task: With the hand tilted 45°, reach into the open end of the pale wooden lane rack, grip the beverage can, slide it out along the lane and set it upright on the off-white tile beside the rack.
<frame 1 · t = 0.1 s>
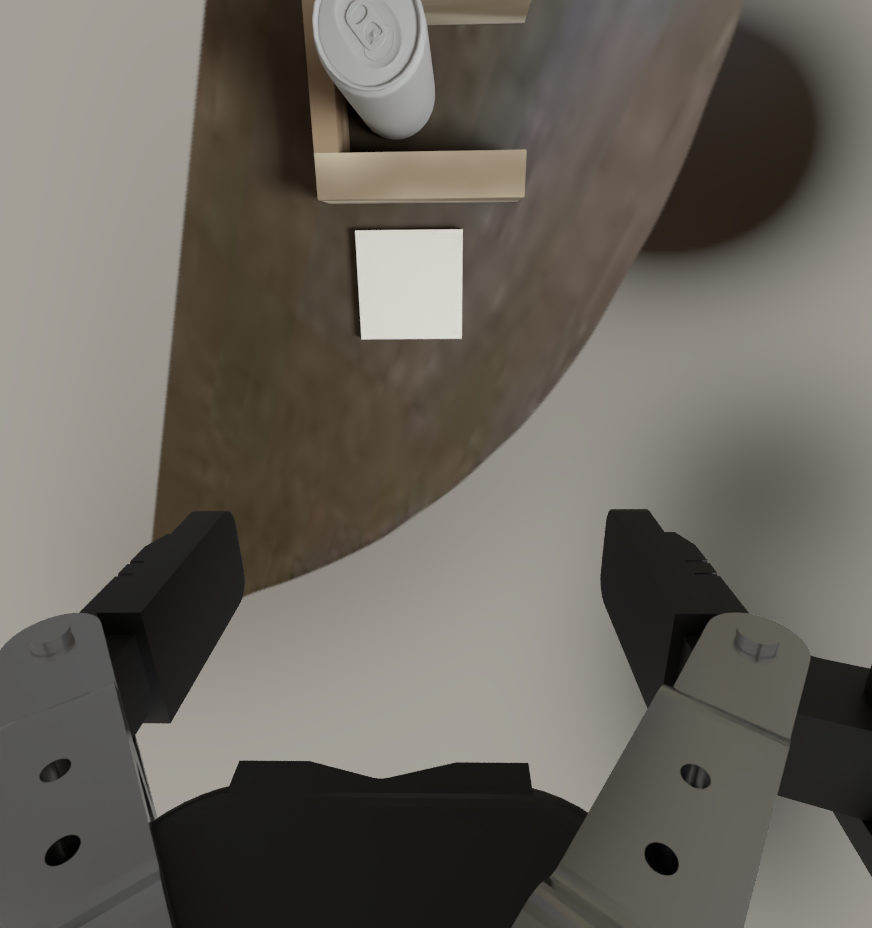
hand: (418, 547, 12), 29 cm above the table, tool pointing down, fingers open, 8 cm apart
lane rack: (422, 95, 34), on the table
beverage can: (396, 97, 34), resting in lane rack
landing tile: (410, 285, 38), on the table
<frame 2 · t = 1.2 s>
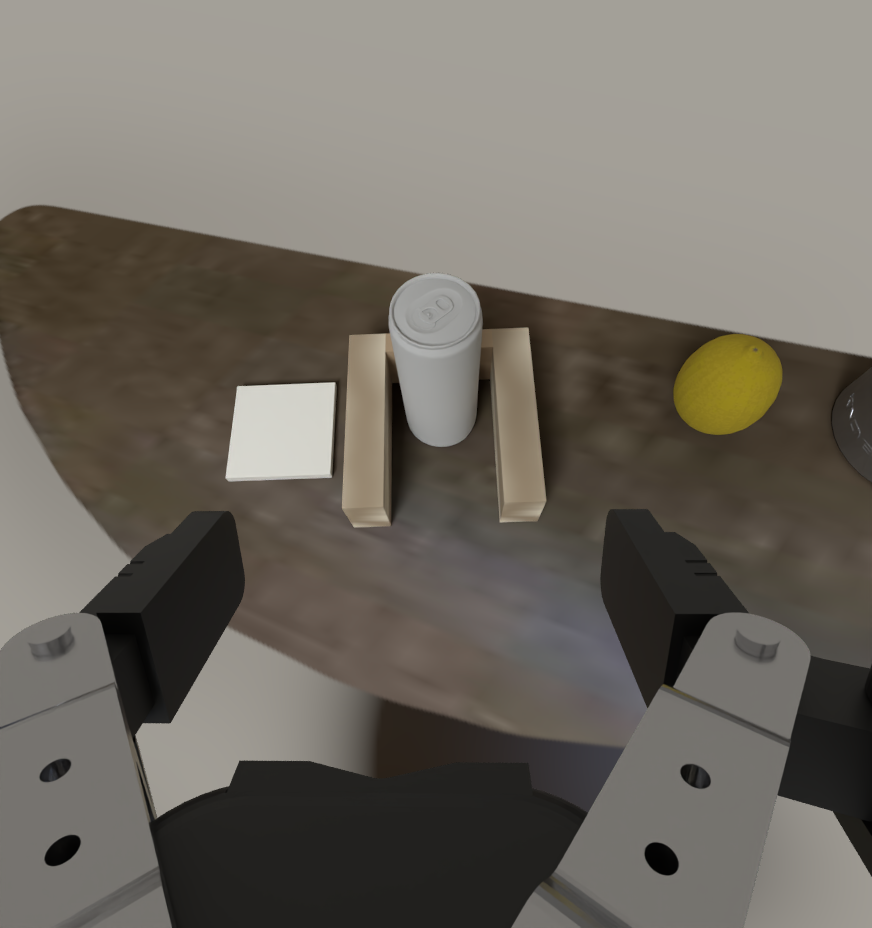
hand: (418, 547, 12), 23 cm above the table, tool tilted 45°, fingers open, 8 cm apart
lane rack: (442, 439, 38), on the table
beverage can: (442, 420, 39), resting in lane rack
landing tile: (284, 432, 39), on the table
lemon: (697, 417, 38), on the table
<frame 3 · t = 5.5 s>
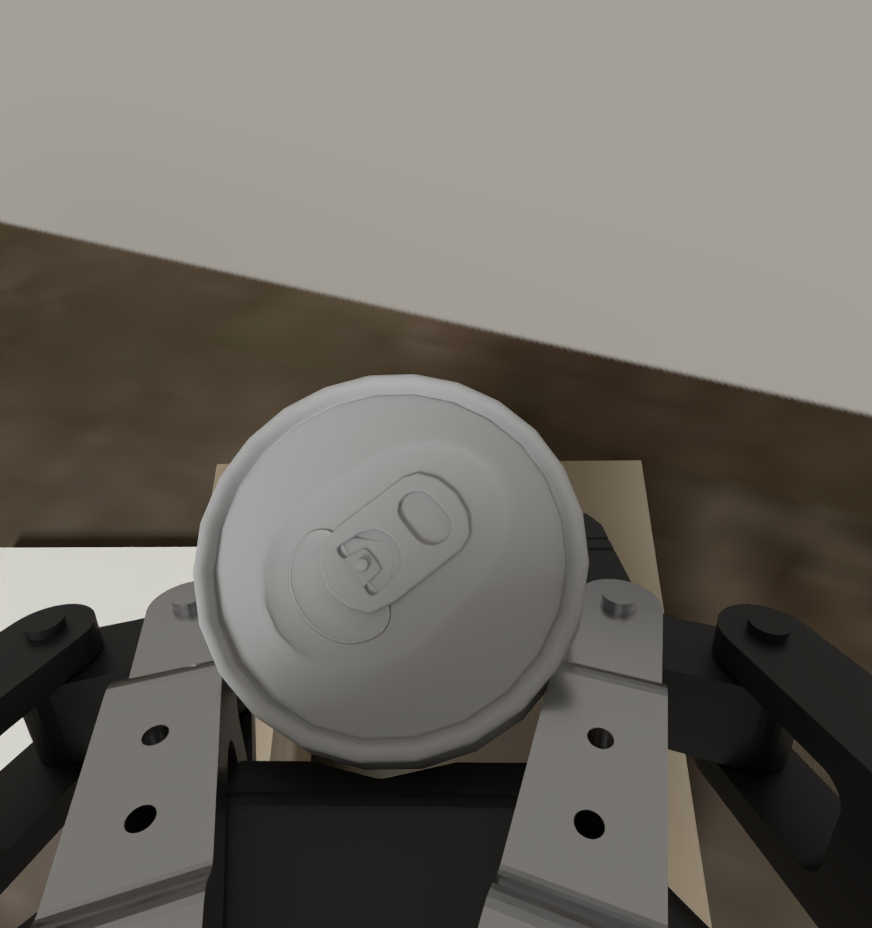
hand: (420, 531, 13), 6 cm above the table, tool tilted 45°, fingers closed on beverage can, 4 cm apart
lane rack: (430, 696, 17), on the table
beverage can: (431, 641, 18), resting in lane rack, touching gripper
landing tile: (83, 660, 18), on the table
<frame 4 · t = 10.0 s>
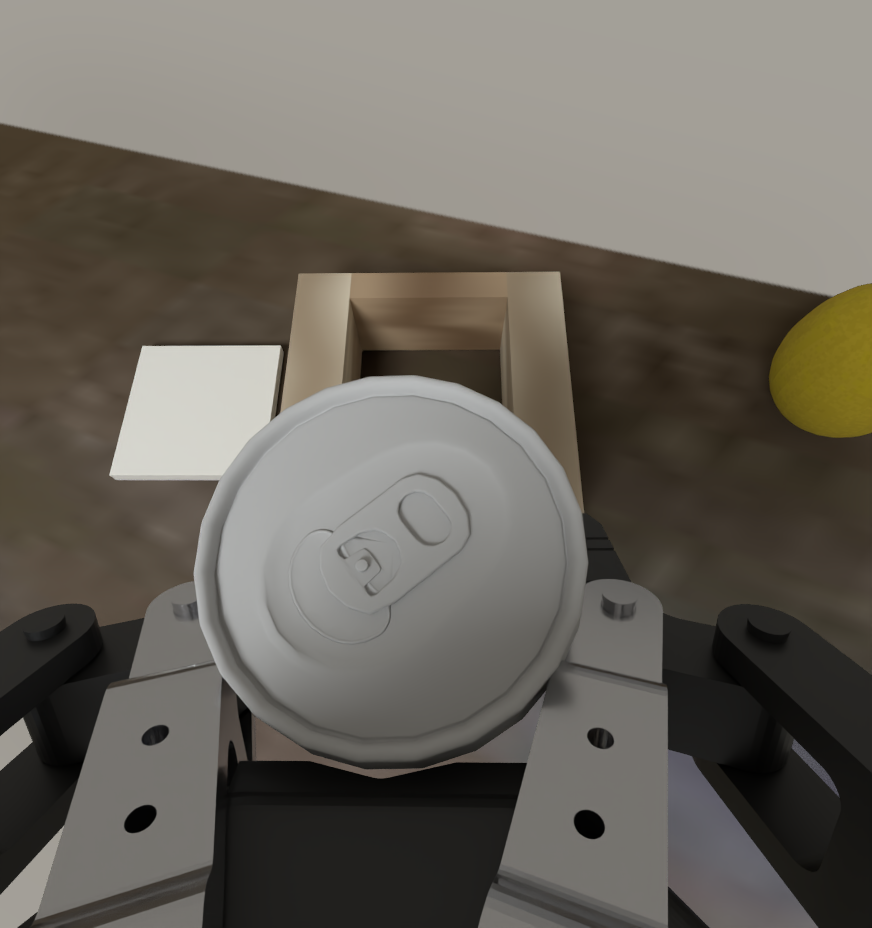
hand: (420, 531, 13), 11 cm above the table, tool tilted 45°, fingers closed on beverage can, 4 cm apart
lane rack: (429, 431, 26), on the table
beverage can: (431, 641, 18), point 5 cm above the table, touching gripper
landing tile: (204, 413, 27), on the table
lemon: (794, 414, 27), on the table
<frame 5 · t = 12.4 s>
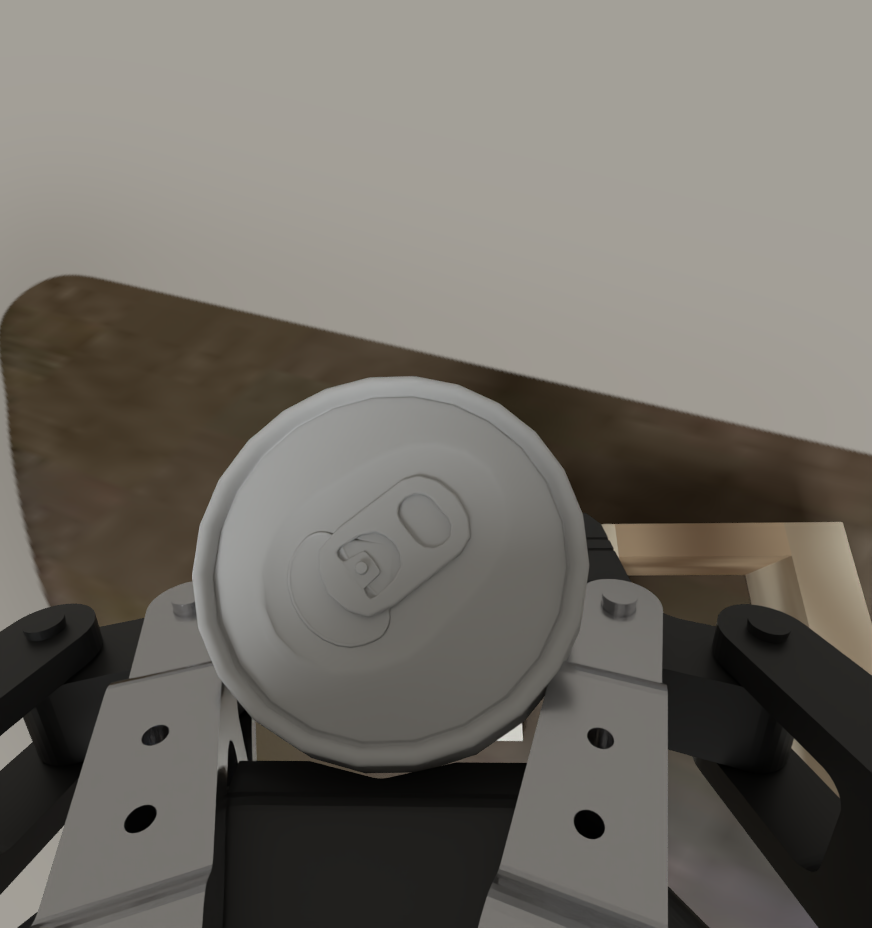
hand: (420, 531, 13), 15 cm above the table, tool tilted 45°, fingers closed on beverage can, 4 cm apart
lane rack: (687, 678, 25), on the table
beverage can: (431, 643, 18), point 9 cm above the table, touching gripper
when the fingers open (8 cm above the table, at t = 14.4 s): beverage can drops 1 cm, resting on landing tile.
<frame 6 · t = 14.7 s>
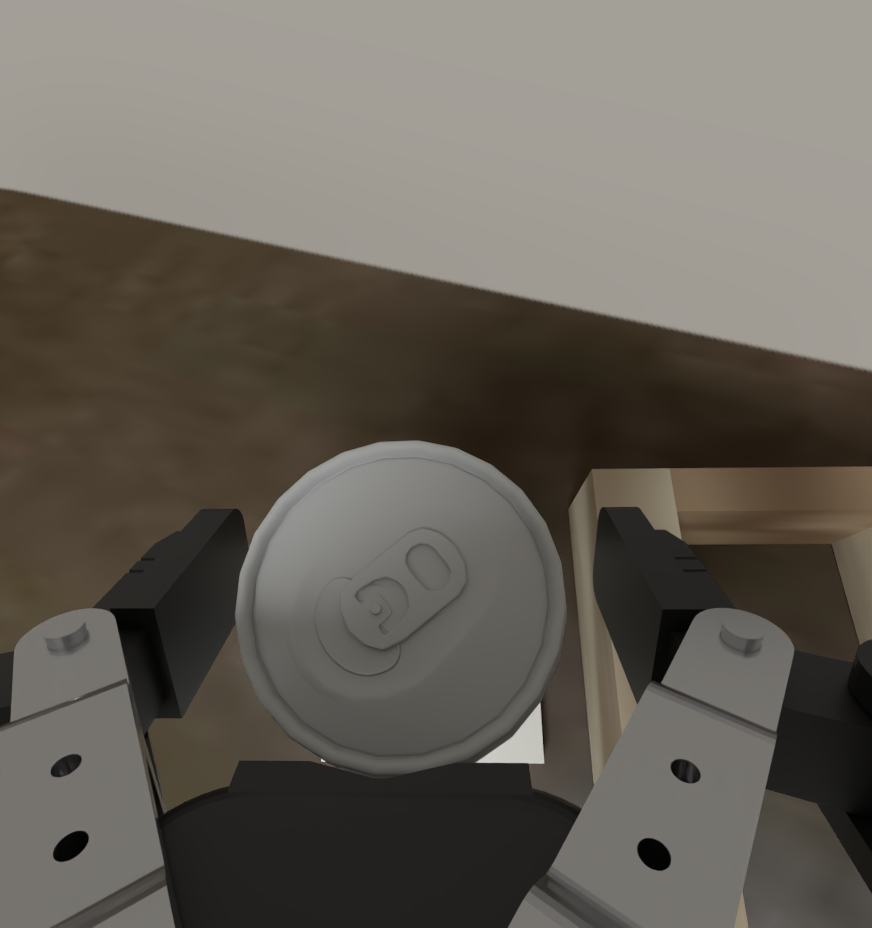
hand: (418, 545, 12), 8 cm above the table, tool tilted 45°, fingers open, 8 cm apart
lane rack: (761, 678, 19), on the table
beverage can: (436, 653, 19), resting on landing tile
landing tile: (433, 647, 19), on the table
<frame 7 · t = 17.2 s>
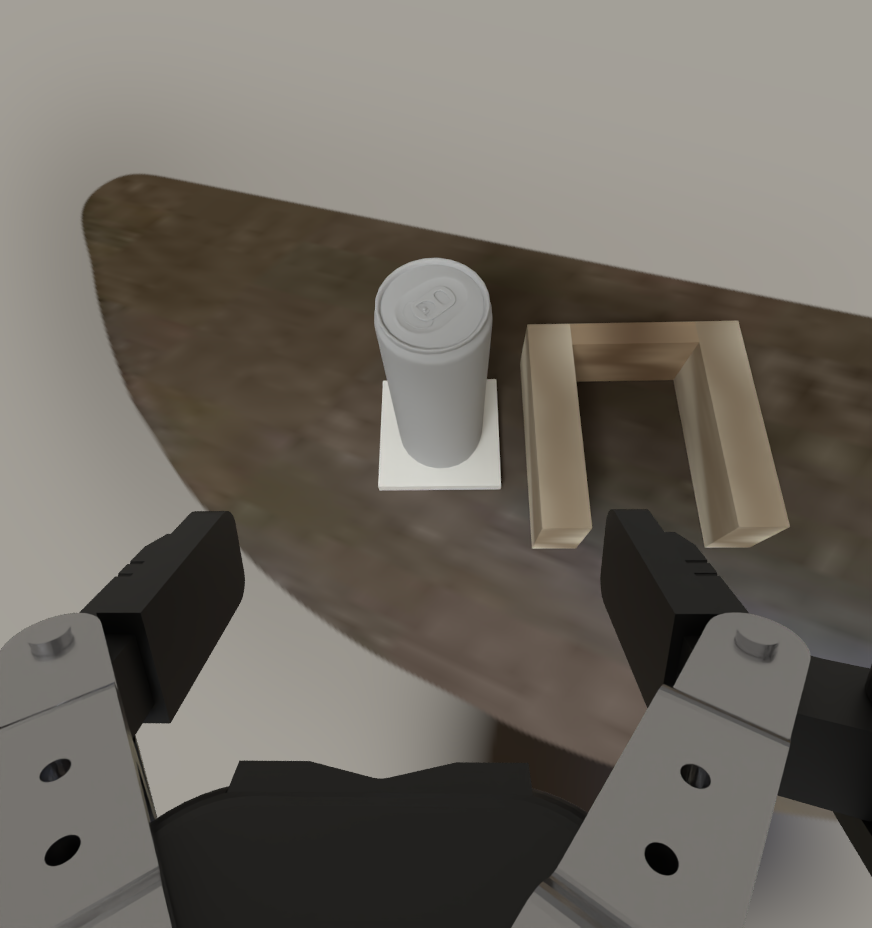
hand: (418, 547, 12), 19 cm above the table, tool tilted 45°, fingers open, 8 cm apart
lane rack: (625, 448, 33), on the table
beverage can: (441, 435, 33), resting on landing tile
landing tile: (439, 435, 34), on the table
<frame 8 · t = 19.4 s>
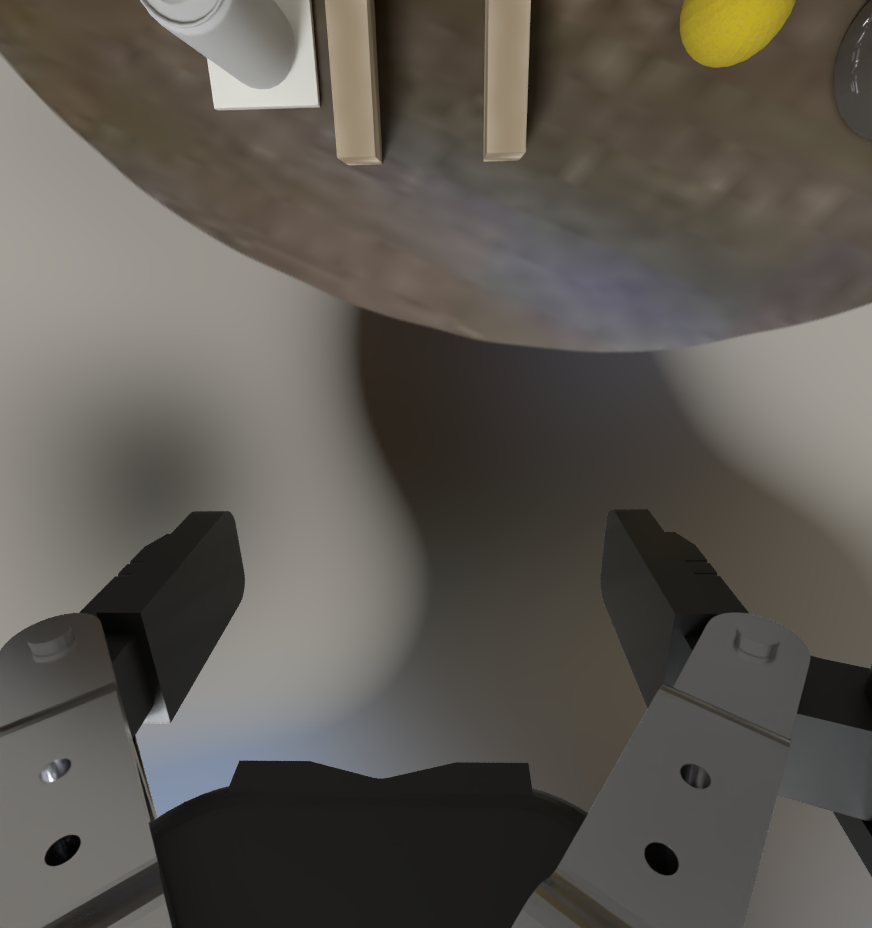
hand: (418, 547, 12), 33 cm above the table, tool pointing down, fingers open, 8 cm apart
lane rack: (430, 58, 36), on the table
beverage can: (262, 48, 36), resting on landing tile
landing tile: (261, 46, 36), on the table
lemon: (704, 31, 35), on the table
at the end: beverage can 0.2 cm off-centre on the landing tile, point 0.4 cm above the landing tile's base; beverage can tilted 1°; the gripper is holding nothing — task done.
